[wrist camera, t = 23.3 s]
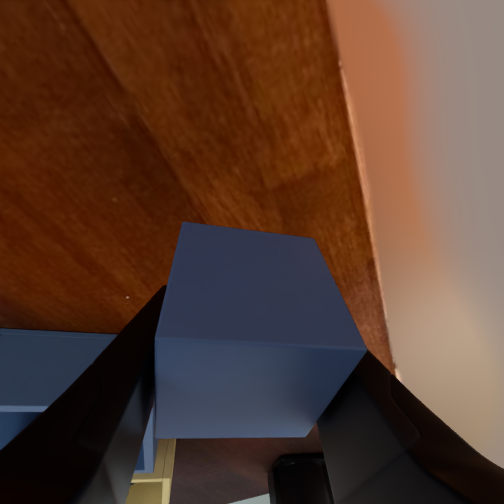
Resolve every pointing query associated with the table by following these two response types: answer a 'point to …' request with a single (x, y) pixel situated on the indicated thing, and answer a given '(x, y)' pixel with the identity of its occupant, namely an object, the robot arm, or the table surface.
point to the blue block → (249, 336)
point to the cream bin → (155, 478)
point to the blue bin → (51, 379)
